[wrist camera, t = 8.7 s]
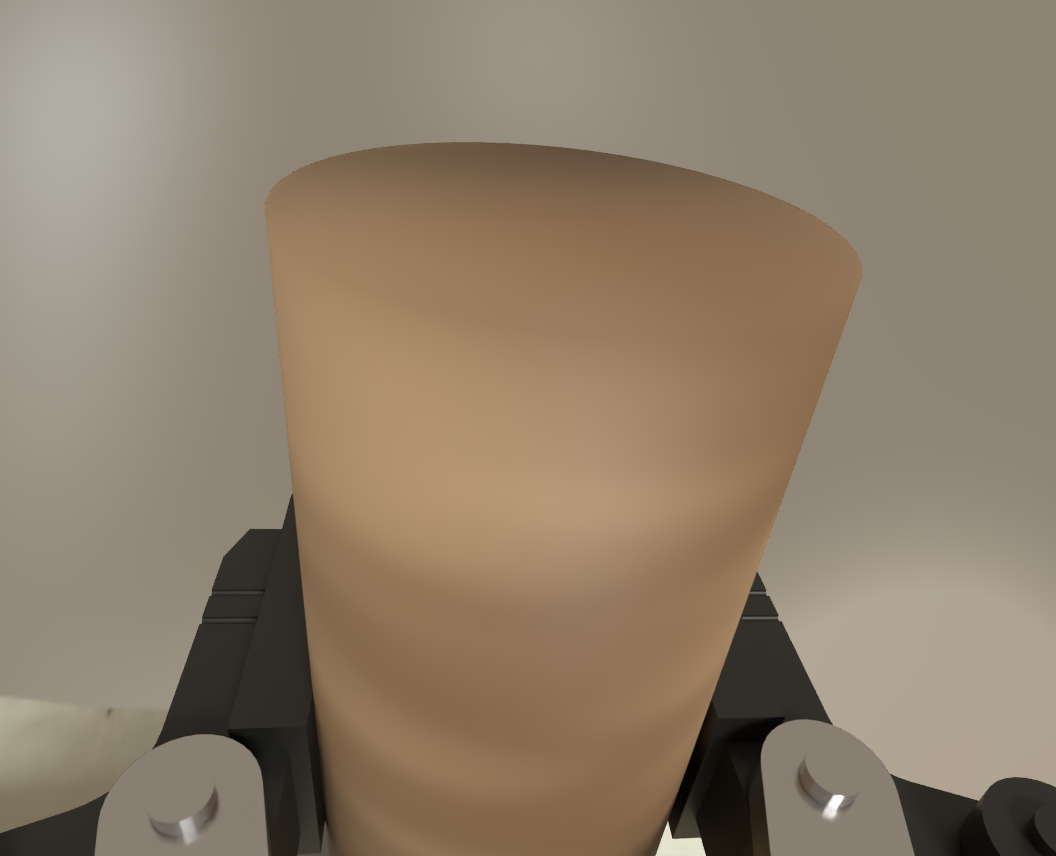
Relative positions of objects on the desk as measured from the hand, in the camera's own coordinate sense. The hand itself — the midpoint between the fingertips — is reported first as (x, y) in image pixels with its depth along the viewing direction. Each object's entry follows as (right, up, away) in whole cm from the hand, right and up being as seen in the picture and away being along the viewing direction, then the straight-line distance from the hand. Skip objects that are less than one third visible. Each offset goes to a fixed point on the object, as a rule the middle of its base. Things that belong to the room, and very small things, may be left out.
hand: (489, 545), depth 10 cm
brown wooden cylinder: (-1, -9, +2) cm, 9 cm away
